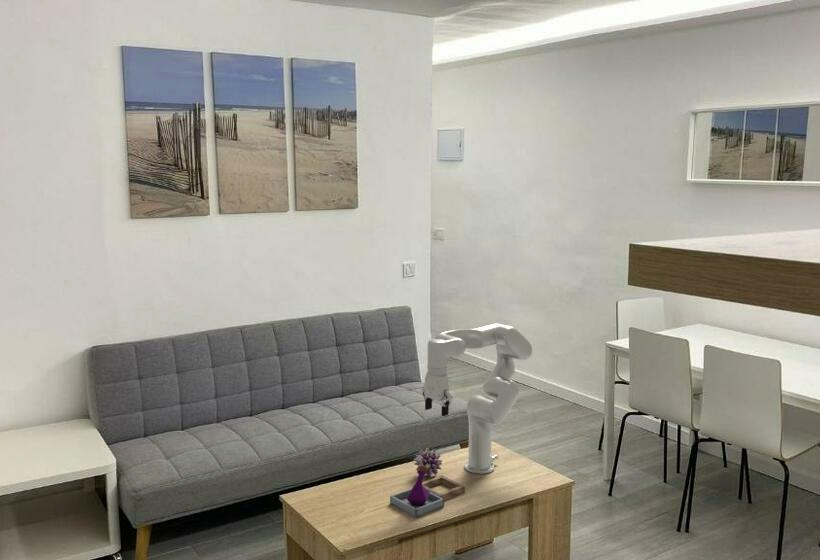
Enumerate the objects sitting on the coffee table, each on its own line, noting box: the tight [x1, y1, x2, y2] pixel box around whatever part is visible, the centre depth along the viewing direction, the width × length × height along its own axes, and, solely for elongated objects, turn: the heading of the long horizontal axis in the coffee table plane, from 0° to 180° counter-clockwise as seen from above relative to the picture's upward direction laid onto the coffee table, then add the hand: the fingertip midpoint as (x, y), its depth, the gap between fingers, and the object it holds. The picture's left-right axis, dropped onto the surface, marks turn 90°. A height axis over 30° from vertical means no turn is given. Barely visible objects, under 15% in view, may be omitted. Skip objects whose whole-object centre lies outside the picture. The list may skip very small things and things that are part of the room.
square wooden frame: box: [422, 474, 466, 501], centre depth 292 cm, size 14×14×2 cm
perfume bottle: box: [407, 457, 430, 506], centre depth 279 cm, size 8×8×18 cm
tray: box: [389, 487, 445, 518], centre depth 281 cm, size 14×15×3 cm
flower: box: [413, 447, 443, 478], centre depth 306 cm, size 12×12×12 cm
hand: (436, 412), depth 294 cm, fingers open, 9 cm apart
